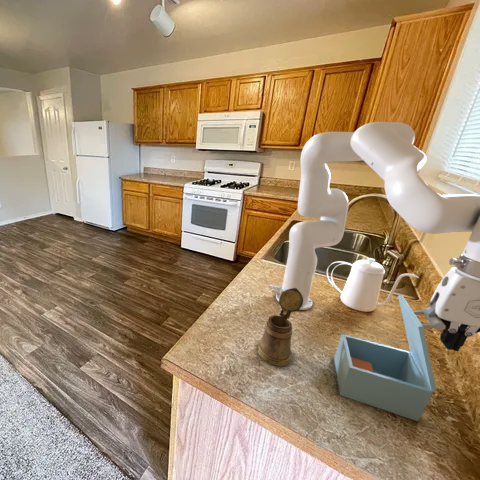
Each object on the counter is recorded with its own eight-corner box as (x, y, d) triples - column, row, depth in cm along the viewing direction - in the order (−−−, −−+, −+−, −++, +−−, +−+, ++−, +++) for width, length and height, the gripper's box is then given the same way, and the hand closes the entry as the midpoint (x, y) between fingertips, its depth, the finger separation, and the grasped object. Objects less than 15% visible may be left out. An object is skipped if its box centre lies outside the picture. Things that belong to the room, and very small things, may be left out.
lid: (418, 326, 52) (451, 325, 50) (397, 295, 63) (424, 292, 60) (431, 390, 55) (464, 392, 52) (409, 350, 65) (436, 350, 63)
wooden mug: (300, 345, 79) (313, 293, 73) (283, 371, 70) (296, 315, 64) (271, 331, 85) (280, 282, 79) (252, 353, 76) (260, 300, 70)
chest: (340, 395, 64) (349, 367, 61) (334, 358, 74) (341, 333, 71) (418, 421, 58) (433, 392, 55) (399, 378, 68) (411, 351, 65)
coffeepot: (400, 327, 87) (420, 277, 80) (317, 296, 104) (328, 253, 97) (403, 313, 94) (422, 265, 87) (325, 286, 111) (336, 245, 104)
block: (348, 383, 66) (352, 369, 65) (345, 369, 70) (349, 356, 68) (370, 390, 64) (375, 376, 63) (366, 376, 68) (371, 362, 66)
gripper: (443, 269, 50) (410, 346, 56) (564, 287, 44) (511, 371, 50) (426, 254, 56) (398, 325, 62) (530, 268, 50) (487, 345, 56)
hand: (448, 345), depth 56 cm, fingers closed
